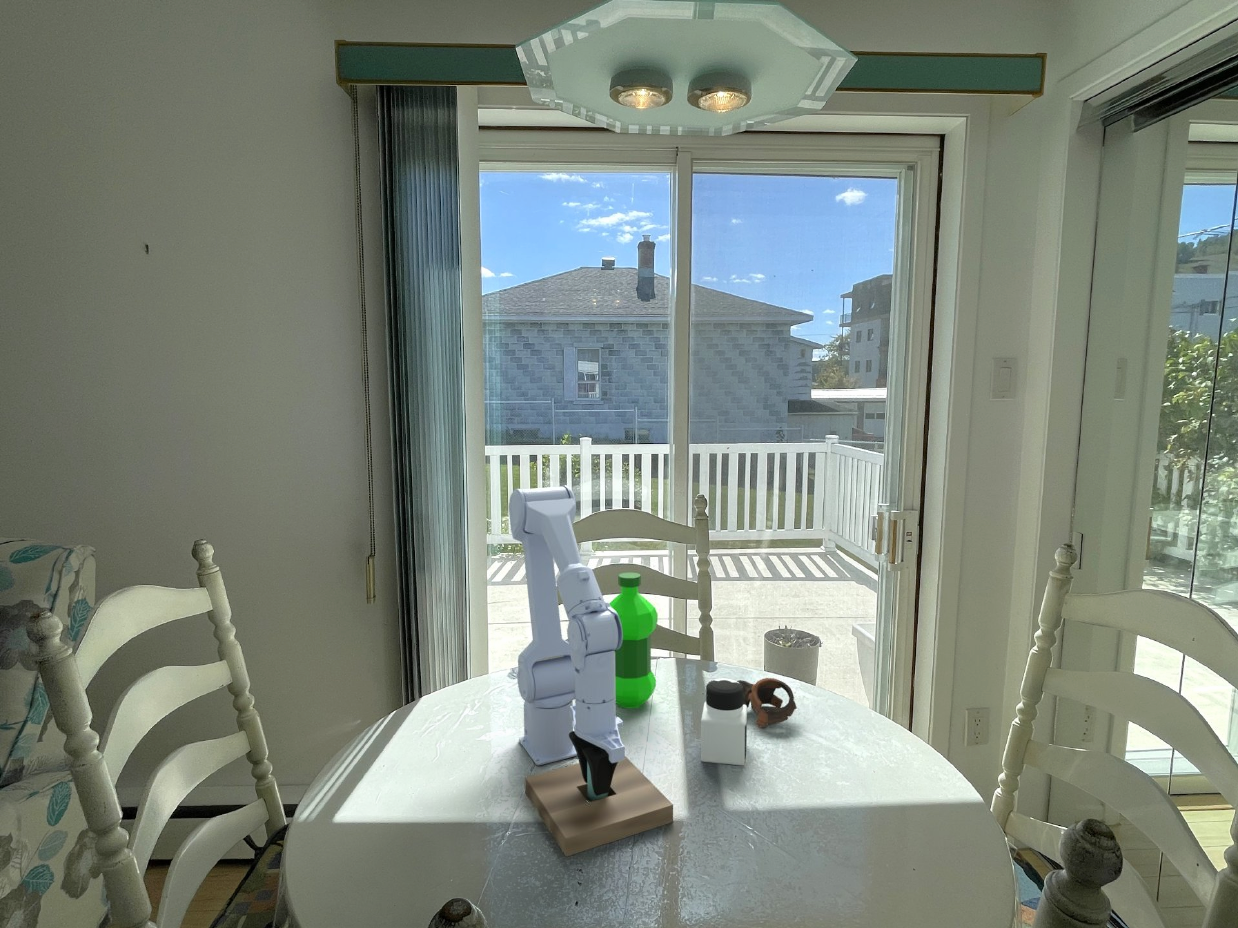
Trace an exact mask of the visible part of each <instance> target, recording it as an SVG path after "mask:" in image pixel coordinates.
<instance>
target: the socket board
mask: <svg viewBox="0 0 1238 928" xmlns="http://www.w3.org/2000/svg"><path fill="white" fill-rule="evenodd" d="M524 784H525V785H524V788H525V789H524V791H525V794H526V796H527V798H528V799H529V801H530V803H531V804H532V805H533V807H534V808H535V810H536V812H537V813H538V815H539V817H540V818H541V820H542V821H543V823H544V824H545V826H546V828H547V830H548V831H549V832H550V833H551V835H552V837H553V839H554V840H555V842H556V843H557V845H558V847H559V848H560V850H561V851H562V853H563V854H564V856H565V857H570V856H572V855H573V856H574V855H576V854H578V853H581V852H584V851H588V850H590V849H594V848H596V847H600V846H604V845H607V844H609V843H612V842H615V841H618V840H619V841H620V840H621V839H624V838H628V837H630V836H634V835H637V834H641V833H643V832H646V831H649V830H652V829H655V828H658V827H660V826H665V825H667V824H670V823H674V804H673V803H672V802H671V800H669V799H668V797H666V796H665V795H664V794H663V793H662V791H660V790H659V788H657V787H656V785H654V784H653V782H652V781H650V780H649V779H648V777H647V776H646V775H645V774H644V773H643V772H642V771H641V770H640V769H639V768H638V767H637V766H636V765H635V764H634V763H633V762H632V761H631V760H630V759H629V758H628V757H627V756H626V755H625V760H622V761H619V762H618V763H617V766H616V768H615V771H614V774H613V778H612V782H611V786H610V790H609V792H608V797H606V798H603V799H599V800H596V801H592V802H589V801H588V796H587V783H585V781H584V779H583V776H582V772H581V767H580V763H579V762H578V763H573V764H570V765H567V766H562V767H559V768H555V769H552V770H547V771H543V772H540V773H536V774H532V775H528V776H525V777H524Z"/></svg>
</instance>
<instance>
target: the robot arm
mask: <svg viewBox="0 0 1238 928" xmlns="http://www.w3.org/2000/svg"><path fill="white" fill-rule="evenodd" d="M576 511H577V501H576V496H575V494H574V491H573V490H572V488H571V487H570V486H568V485H561V486H549V487H548V486H547V487H538V488H536V487H535V488H515V489H514V490H513V491H512V492H511V494H510V497H509V502H508V513H509V515H508V516H509V522H510V523H509V524H510V531H511V534H512V539H513V540H515V541H518V542H520V543H521V546H522V550H523V552H522V553H523V558H524V559H523V560H524V568H525V578H526V587H527V597H528V607H529V616H530V624H531V625H530V627H531V635H532V640H531V642H530V643H528V645H527V646H526V647H525V648H524V649H523V650H522V651H520V654H519V655H518V659H517V667H518V668H517V687H518V691H519V694H520V697H521V699H522V700H523V701H524V702H523V727H524V728H523V730H524V731H523V732H524V734H523V735H524V736H521V737H519V738H518V741H519V742H520V744H521V745H522V747H523V748H524V750H525V752H526V753H527V754H528V755H529V757H530V758H531V760H532V761H533V762H534V764H535V765H536V766H542V765H546V764H550V763H555V762H557V761H558V762H559V761H562V760H566V759H570V758H573V757H577V759H578V763H580V767H581V772H582V776H583V779H584V781H585V783H587V762H588V765H589V768H590V773H591V780H592V787H593V791H594V794H595V795H596V796H598V795H601V794H605V793H608V792H609V790H610V786H611V782H612V778H613V774H614V771H615V768H616V766H617V763H618V762H619V761H622V760H625V756H626V745H624V744H623V742H622V740H621V735H620V732H619V731H620V730H619V728H622V727H623V726H624V721H623V719H621V718H620V717H619V716H617V714H616V709H617V708H616V704H617V703H616V698H615V651H614V650H615V649H619V648H620V647H621V645H622V640H623V631H622V625H621V621H620V619H619V615H618V614H617V612H616V611H615V610H614V609H613V608H612V607H611V606H610V604H609V603H610V602H605V599H604V597H603V594H602V592H601V588H600V586H599V584H598V581H597V578H596V576H595V574H594V571H593V569H592V568H590V567H589V566H586V565H584V564H583V562H582V558H581V554H580V550H579V547H578V543H577V539H576V536H575V531H574V527H573V526H574V522H575V519H576V513H577V512H576ZM554 562H555V563H554ZM555 565H556V567H557V569H558V571H559V573H560V574H559V576H557V577H558V578H557V580H556V573H555V571H556V570H555ZM558 593H559V596H560V599H561V602H562V605H563V607H564V611H565V613H566V616H567V619H568V624H567V628H566V634H567V640H566V639H564V638H563V634H562V627H561V626H562V625H561V617H560V608H559V607H560V606H559V598H558ZM573 700H574V702H575V703H574V704H573Z"/></svg>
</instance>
